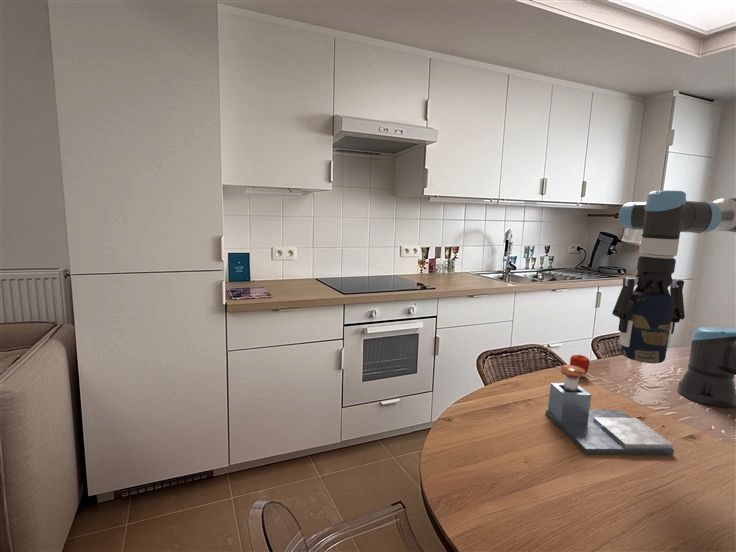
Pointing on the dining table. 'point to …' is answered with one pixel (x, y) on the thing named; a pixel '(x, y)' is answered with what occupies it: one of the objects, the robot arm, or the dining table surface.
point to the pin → (571, 377)
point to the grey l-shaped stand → (602, 426)
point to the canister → (649, 327)
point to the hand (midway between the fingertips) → (643, 345)
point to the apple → (580, 362)
